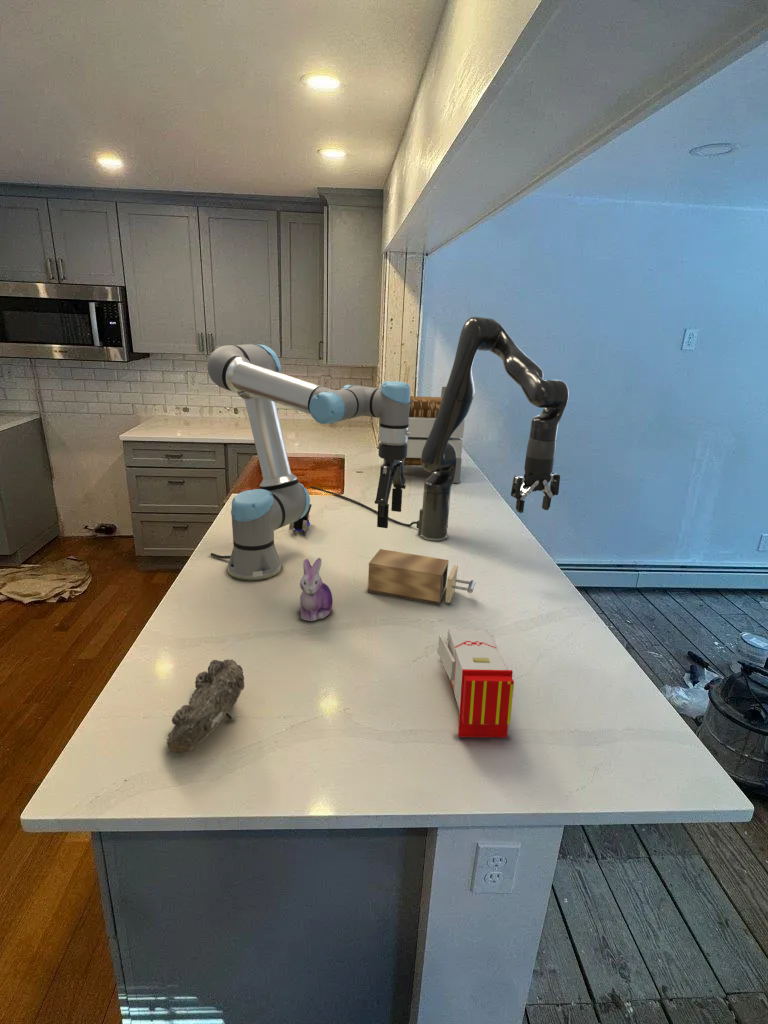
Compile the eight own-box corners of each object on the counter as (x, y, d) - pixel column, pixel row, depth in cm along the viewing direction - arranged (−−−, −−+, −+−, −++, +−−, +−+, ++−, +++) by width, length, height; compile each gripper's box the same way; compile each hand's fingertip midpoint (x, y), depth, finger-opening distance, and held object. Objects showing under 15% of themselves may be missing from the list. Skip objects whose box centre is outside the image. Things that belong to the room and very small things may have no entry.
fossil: (192, 660, 117) (244, 628, 112) (224, 691, 120) (276, 661, 115) (142, 746, 98) (202, 712, 93) (182, 779, 101) (242, 748, 96)
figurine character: (308, 540, 194) (312, 520, 207) (307, 521, 190) (312, 501, 204) (288, 540, 194) (294, 519, 207) (287, 520, 190) (293, 501, 204)
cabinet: (446, 588, 162) (448, 559, 159) (438, 605, 153) (441, 575, 150) (378, 576, 167) (380, 548, 164) (367, 592, 158) (368, 562, 155)
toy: (488, 613, 130) (523, 677, 101) (484, 667, 133) (517, 744, 104) (435, 612, 130) (455, 676, 101) (432, 666, 133) (451, 743, 103)
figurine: (305, 626, 140) (305, 571, 134) (291, 607, 148) (291, 554, 143) (340, 618, 144) (341, 564, 139) (325, 600, 152) (325, 549, 147)
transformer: (382, 463, 289) (386, 382, 275) (445, 464, 293) (451, 384, 279) (390, 482, 257) (394, 392, 243) (460, 483, 261) (468, 394, 247)
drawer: (475, 591, 159) (477, 568, 157) (470, 606, 151) (472, 582, 149) (391, 577, 165) (392, 554, 163) (382, 590, 157) (383, 567, 155)
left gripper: (394, 454, 135) (390, 536, 143) (418, 434, 158) (413, 506, 165) (364, 451, 137) (361, 532, 145) (392, 432, 160) (389, 503, 167)
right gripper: (553, 450, 160) (545, 504, 166) (510, 452, 155) (503, 508, 161) (570, 456, 154) (561, 513, 159) (526, 459, 149) (518, 517, 154)
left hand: (389, 518), depth 155 cm, fingers open, 13 cm apart
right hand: (532, 510), depth 160 cm, fingers open, 8 cm apart
